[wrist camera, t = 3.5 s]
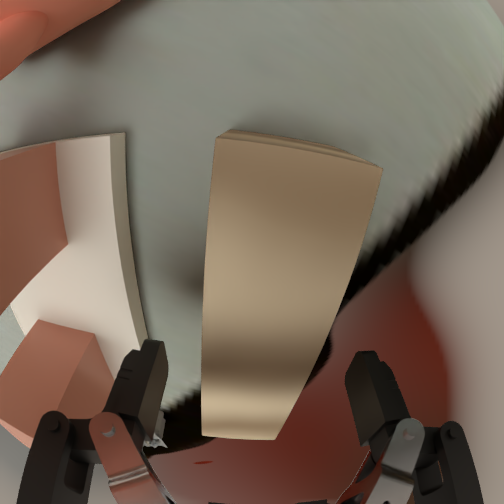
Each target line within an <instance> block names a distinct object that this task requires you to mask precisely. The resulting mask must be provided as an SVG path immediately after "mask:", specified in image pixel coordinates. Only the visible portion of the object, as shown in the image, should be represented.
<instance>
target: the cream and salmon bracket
mask: <svg viewBox="0 0 504 504" xmlns="http://www.w3.org/2000/svg"><path fill="white" fill-rule="evenodd" d="M9 304H10V306H11V308H12V310H13V313H14V315H15V317H16V319H17V321H18V323H19V325H20V327H21V329H22V331H23V333H24V335H25V338H24V339H23V341H22V342H21V344H20V345H19V347H18V348H17V350H16V351H15V353H14V354H13V356H12V358H11V359H10V361H9V362H8V364H7V366H6V367H5V369H4V370H3V372H2V374H1V375H0V424H1V425H2V426H4V427H5V428H6V429H7V430H8V431H9V432H10V433H11V434H12V435H13V436H15V437H16V438H17V439H18V440H19V441H20V442H22V443H23V444H24V445H25V446H27V447H29V448H31V445H32V442H33V439H34V436H35V433H36V430H37V427H38V424H39V422H40V419H41V417H42V416H43V415H44V414H45V413H47V412H49V411H59V412H61V413H63V414H64V415H65V416H66V417H67V418H68V419H90V418H93V417H94V416H95V415H97V414H99V413H101V412H102V410H103V409H104V407H105V405H106V402H107V399H108V397H109V394H110V391H111V389H112V386H113V384H114V381H115V379H116V378H117V374H118V371H119V370H120V366H121V364H122V361H123V359H124V357H125V356H126V355H127V354H128V353H129V352H130V351H131V350H132V349H134V350H140V349H141V347H142V344H143V342H144V340H145V339H148V335H147V331H146V326H145V322H144V317H143V312H142V307H141V302H140V296H139V291H138V285H137V279H136V272H135V266H134V259H133V251H132V243H131V235H130V225H129V214H128V202H127V186H126V159H125V132H124V133H111V134H101V135H91V136H83V137H75V138H68V139H62V140H55V141H50V142H44V143H39V144H34V145H29V146H24V147H20V148H15V149H11V150H7V151H3V152H0V315H1V314H2V313H3V312H4V310H5V309H6V308H7V307H8V306H9Z"/></svg>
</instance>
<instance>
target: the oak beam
mask: <svg viewBox="0 0 504 504" xmlns="http://www.w3.org/2000/svg"><path fill="white" fill-rule="evenodd" d="M382 171H383V168H381V167H379V166H377V165H375V164H372V163H370V162H368V161H366V160H364V159H362V158H359V157H357V156H355V155H352V154H350V153H348V152H346V151H343V150H341V149H338V148H336V147H333V146H328V145H324V144H319V143H314V142H309V141H304V140H298V139H293V138H287V137H281V136H275V135H268V134H261V133H254V132H246V131H238V130H228V131H226V132H225V133H223V134H222V135H220V136H218V137H217V138H216V140H215V149H214V158H213V168H212V178H211V189H210V200H209V212H208V224H207V238H206V253H205V271H204V291H203V316H202V360H201V407H202V435H204V436H212V437H223V438H236V439H255V440H275V438H276V437H277V435H278V433H279V431H280V430H281V428H282V426H283V424H284V423H285V421H286V419H287V417H288V415H289V414H290V412H291V410H292V408H293V406H294V404H295V402H296V400H297V399H298V396H299V395H300V393H301V391H302V389H303V387H304V385H305V383H306V381H307V379H308V377H309V375H310V373H311V371H312V368H313V366H314V364H315V362H316V360H317V358H318V356H319V353H320V351H321V349H322V347H323V345H324V342H325V340H326V338H327V335H328V333H329V331H330V328H331V326H332V324H333V321H334V319H335V316H336V314H337V312H338V309H339V307H340V304H341V301H342V299H343V296H344V294H345V291H346V288H347V286H348V283H349V280H350V278H351V275H352V272H353V269H354V266H355V263H356V261H357V258H358V255H359V252H360V249H361V246H362V242H363V239H364V236H365V233H366V230H367V227H368V223H369V220H370V216H371V213H372V210H373V206H374V202H375V199H376V195H377V191H378V187H379V184H380V180H381V176H382Z"/></svg>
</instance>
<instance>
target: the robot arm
mask: <svg viewBox="0 0 504 504" xmlns="http://www.w3.org/2000/svg"><path fill="white" fill-rule="evenodd" d="M167 377H168V360H167V355H166V350H165V345H164V342H163V341H158V340H151V339H145V340H144V342H143V344H142V347H141V349H140V350H134V349H132V350H131V351H130V352H129V353H128V354H127V355H126V356H125V357H124V359H123V361H122V364H121V366H120V370H119V371H118V374H117V378H116V379H115V381H114V384H113V386H112V389H111V391H110V394H109V397H108V399H107V402H106V405H105V407H104V409H103V410H102V412H101V413H99V414H97V415H95V416H94V417H93V418H90V419H68V418H67V417H66V416H65V415H64V414H63V413H61V412H59V411H49V412H47V413H45V414H44V415H43V416H42V417H41V419H40V422H39V424H38V427H37V430H36V433H35V436H34V439H33V442H32V445H31V448H30V451H29V455H28V458H27V461H26V465H25V468H24V472H23V476H22V481H21V484H20V489H19V493H18V498H17V504H87V503H88V497H89V490H90V485H91V479H92V474H93V469H94V465H95V464H103V467H104V469H105V471H106V473H107V475H108V478H109V483H108V484H109V487H110V490H111V492H112V494H113V496H114V498H115V500H116V502H117V503H118V504H177V503H176V502H175V501H174V499H173V498H172V496H171V495H170V494H169V493H168V491H167V490H166V488H165V487H164V486H163V484H162V483H161V481H160V479H159V478H158V476H157V475H156V473H155V471H154V470H153V468H152V466H151V465H150V463H149V461H148V459H147V458H146V456H145V454H144V452H143V450H142V448H143V444H144V441H149V442H152V440H153V435H154V431H155V427H156V422H157V418H158V414H159V410H160V405H161V401H162V397H163V393H164V389H165V385H166V381H167ZM345 386H346V390H347V394H348V397H349V401H350V405H351V409H352V413H353V416H354V421H355V425H356V429H357V433H358V437H359V442H360V446H367V445H370V449H371V450H370V451H369V452H368V454H367V456H366V458H365V460H364V462H363V464H362V466H361V467H360V469H359V471H358V473H357V475H356V476H355V478H354V480H353V482H352V483H351V485H350V486H349V487H348V488H347V489H346V490H345V491H344V492H343V494H342V495H341V496H340V497H339V499H338V500H337V502H336V503H335V504H406V503H407V501H408V498H409V496H410V494H411V492H412V489H413V495H414V501H415V504H484V503H483V498H482V493H481V489H480V484H479V480H478V477H477V473H476V469H475V466H474V462H473V459H472V455H471V452H470V449H469V446H468V443H467V440H466V437H465V434H464V431H463V429H462V427H461V426H460V425H459V424H458V423H456V422H454V421H448V422H446V423H444V424H443V425H442V426H441V427H440V428H438V427H424V426H423V425H422V424H421V423H420V422H419V421H417V420H415V419H412V418H411V417H410V415H409V412H408V409H407V407H406V404H405V402H404V399H403V397H402V394H401V391H400V389H399V388H398V384H397V382H396V381H395V377H394V374H393V372H392V370H391V369H390V367H389V366H388V365H387V364H386V363H385V362H384V361H382V362H380V360H379V358H378V356H377V353H376V352H375V351H358V352H357V353H356V354H355V356H354V358H353V360H352V362H351V364H350V366H349V368H348V370H347V372H346V375H345ZM438 461H439V463H440V467H441V471H442V475H443V482H442V478H441V474H440V470H439V465H438ZM209 504H222V503H211V502H209ZM297 504H328V503H327V500H319V501H311V502H302V503H297Z"/></svg>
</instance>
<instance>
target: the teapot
mask: <svg viewBox="0 0 504 504" xmlns="http://www.w3.org/2000/svg"><path fill="white" fill-rule="evenodd" d="M120 1H121V0H0V80H2V79H3V78H4V77H6V76H7V75H8V74H9V73H11V72H12V71H13V70H15V69H16V68H17V67H18V66H19V65H20V64H21V63H22V62H23V60H24V59H25V58H26V57H27V56H28V55H30V54H32V53H33V52H35V51H36V50H38V49H40V48H41V47H43V46H45V45H46V44H48V43H50V42H51V41H53V40H55V39H56V38H58V37H60V36H61V35H63V34H65V33H66V32H68V31H70V30H72V29H73V28H75V27H77V26H78V25H80V24H82V23H84V22H85V21H87V20H89V19H91V18H93V17H94V16H96V15H98V14H100V13H101V12H103V11H105V10H107V9H108V8H110V7H112V6H114V5H115V4H117V3H118V2H120Z"/></svg>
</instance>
